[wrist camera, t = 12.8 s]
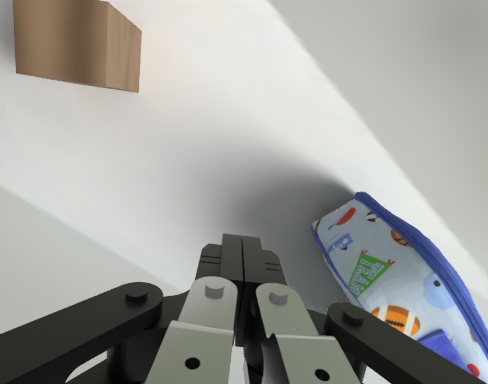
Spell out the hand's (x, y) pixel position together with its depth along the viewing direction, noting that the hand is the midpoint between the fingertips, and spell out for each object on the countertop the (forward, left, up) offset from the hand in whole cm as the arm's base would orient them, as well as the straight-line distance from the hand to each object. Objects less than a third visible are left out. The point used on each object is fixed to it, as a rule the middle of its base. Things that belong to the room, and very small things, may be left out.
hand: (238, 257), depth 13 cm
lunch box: (+22, -14, -29) cm, 39 cm away
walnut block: (-17, +10, -29) cm, 35 cm away
